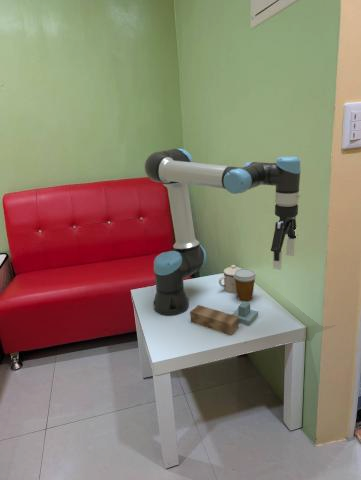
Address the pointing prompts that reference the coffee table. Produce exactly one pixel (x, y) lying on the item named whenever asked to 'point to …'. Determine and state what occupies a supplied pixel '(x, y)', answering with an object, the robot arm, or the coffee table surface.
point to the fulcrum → (245, 313)
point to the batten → (214, 319)
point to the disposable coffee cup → (244, 283)
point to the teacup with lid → (229, 279)
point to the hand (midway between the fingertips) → (283, 261)
